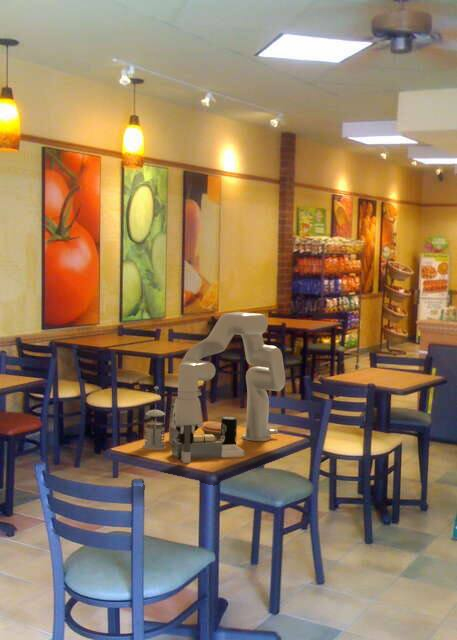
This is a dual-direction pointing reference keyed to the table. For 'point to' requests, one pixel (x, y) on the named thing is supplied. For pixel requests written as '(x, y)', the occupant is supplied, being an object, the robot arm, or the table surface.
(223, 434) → the beverage can
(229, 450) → the tray
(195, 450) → the slot block
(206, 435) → the wooden cube
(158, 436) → the french press
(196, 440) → the tan cube
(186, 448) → the grey rectangular bar
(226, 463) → the table surface
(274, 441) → the table surface
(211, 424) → the pie
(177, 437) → the coffee box
